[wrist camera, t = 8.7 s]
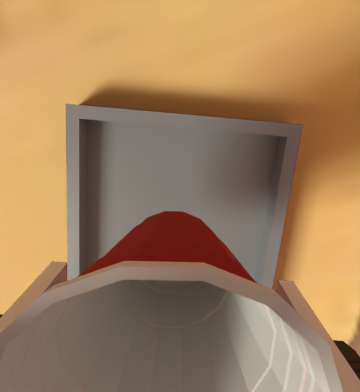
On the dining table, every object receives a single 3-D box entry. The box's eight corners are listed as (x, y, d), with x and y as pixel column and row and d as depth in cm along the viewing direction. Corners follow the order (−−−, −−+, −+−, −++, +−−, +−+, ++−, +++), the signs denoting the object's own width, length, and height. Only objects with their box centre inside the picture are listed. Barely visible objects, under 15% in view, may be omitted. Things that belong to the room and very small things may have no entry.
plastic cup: (113, 331, 22) (34, 574, 10) (76, 189, 19) (-89, 298, 8) (262, 310, 21) (357, 542, 10) (244, 161, 19) (346, 231, 7)
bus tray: (78, 105, 25) (65, 103, 22) (289, 123, 25) (302, 124, 23) (78, 293, 30) (68, 310, 27) (257, 307, 30) (265, 326, 27)
